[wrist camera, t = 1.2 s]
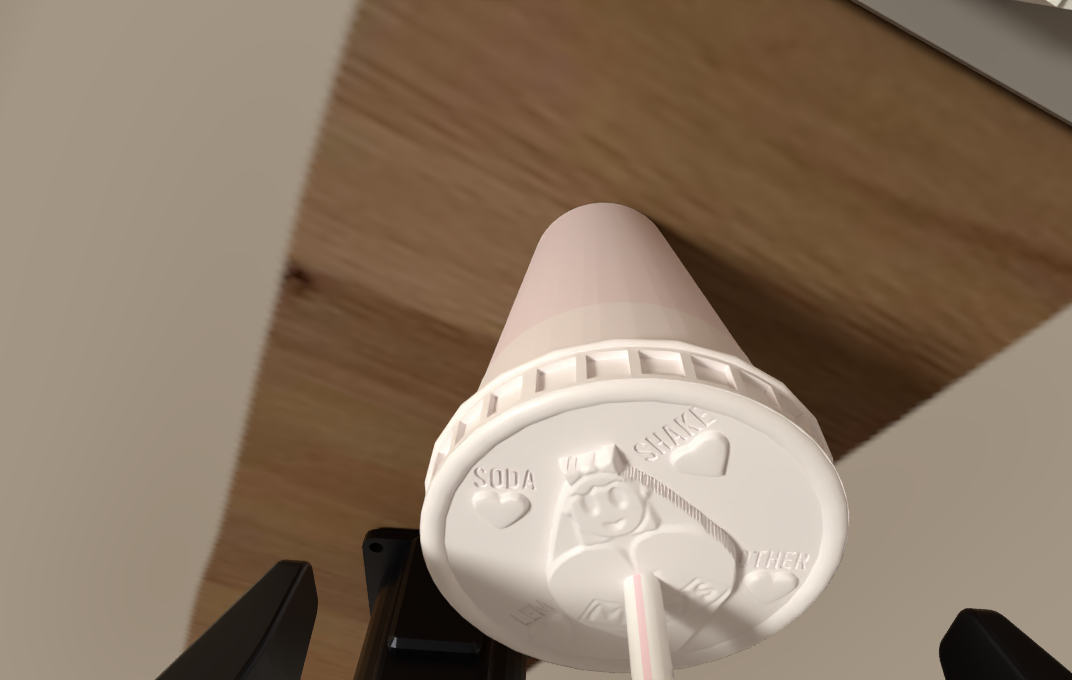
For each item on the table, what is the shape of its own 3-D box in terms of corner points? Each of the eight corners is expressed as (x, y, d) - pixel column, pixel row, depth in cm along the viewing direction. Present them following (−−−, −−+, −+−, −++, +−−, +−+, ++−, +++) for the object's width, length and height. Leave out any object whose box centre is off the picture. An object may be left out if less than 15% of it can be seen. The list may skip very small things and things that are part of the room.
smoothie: (535, 389, 20) (490, 1047, 8) (443, 201, 17) (169, 823, 5) (744, 326, 19) (1050, 1015, 7) (685, 109, 16) (1058, 683, 4)
